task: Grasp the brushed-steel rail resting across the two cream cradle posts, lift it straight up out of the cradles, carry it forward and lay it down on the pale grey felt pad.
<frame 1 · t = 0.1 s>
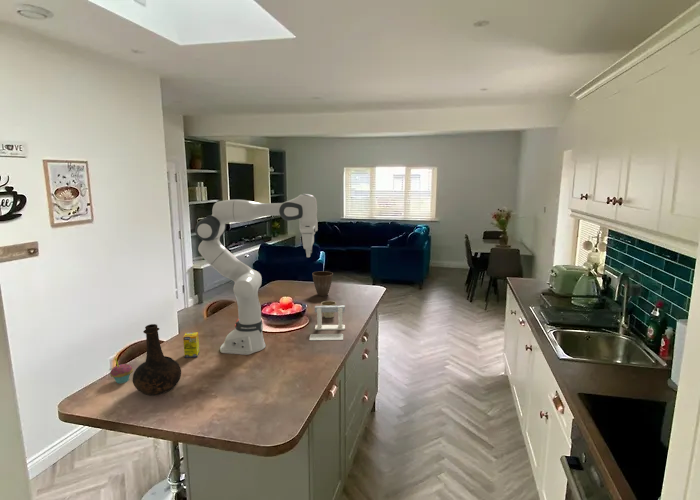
hand: (309, 255, 205), 48 cm above the kitchen island, tool pointing down, fingers open, 8 cm apart
glass bottle: (158, 390, 171), on the kitchen island
flower pot: (328, 316, 259), on the kitchen island
standards: (330, 328, 239), on the kitchen island
rail: (329, 311, 237), point 10 cm above the kitchen island, touching standards
pad: (326, 337, 225), on the kitchen island
supplement box: (192, 355, 204), on the kitchen island
cupcake: (122, 381, 179), on the kitchen island
plant pot: (322, 294, 306), on the kitchen island
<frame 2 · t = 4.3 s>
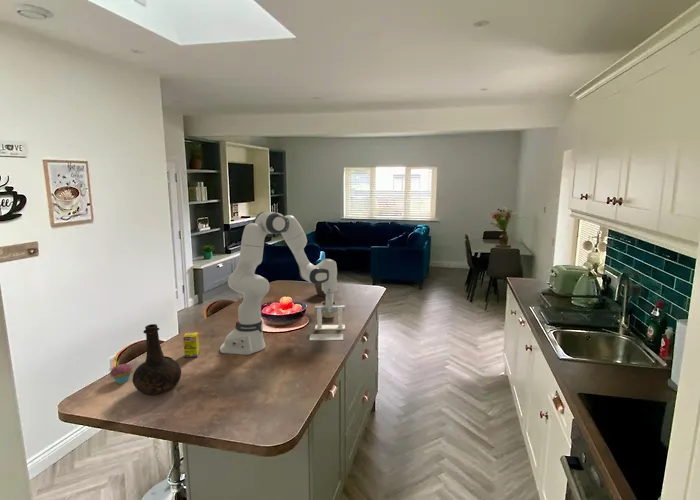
hand: (329, 310, 237), 11 cm above the kitchen island, tool pointing down, fingers closed on rail, 3 cm apart
rail: (329, 311, 237), point 10 cm above the kitchen island, touching gripper, standards
everything else where it was.
when the fingers open (2 cm above the kitchen island, at t = 9.8 s): rail stays where it is, resting on pad.
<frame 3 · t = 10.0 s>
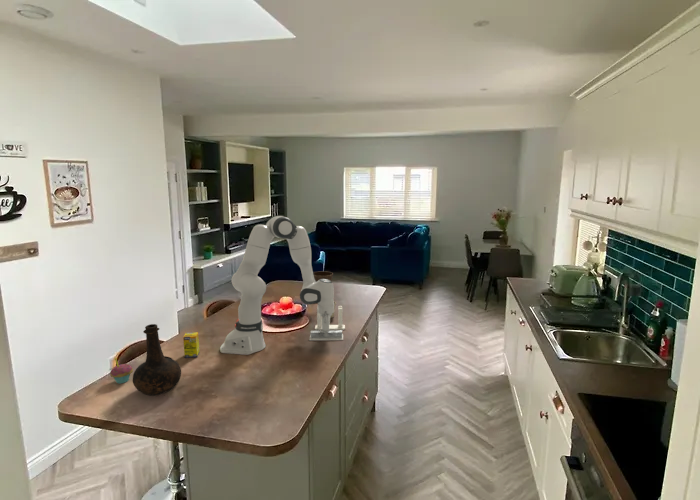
hand: (326, 333, 225), 2 cm above the kitchen island, tool pointing down, fingers open, 5 cm apart
rail: (326, 336, 225), resting on pad
everything else where it was.
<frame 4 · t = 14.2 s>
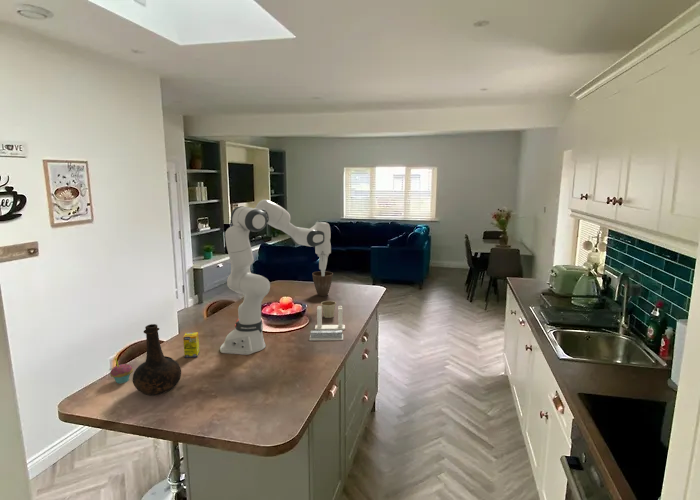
hand: (323, 273, 237), 31 cm above the kitchen island, tool pointing down, fingers open, 8 cm apart
nothing on the kitchen island moved.
at the end: rail inside the target area (0.0 cm from its centre), resting on pad; rail touching pad; the gripper is holding nothing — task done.
